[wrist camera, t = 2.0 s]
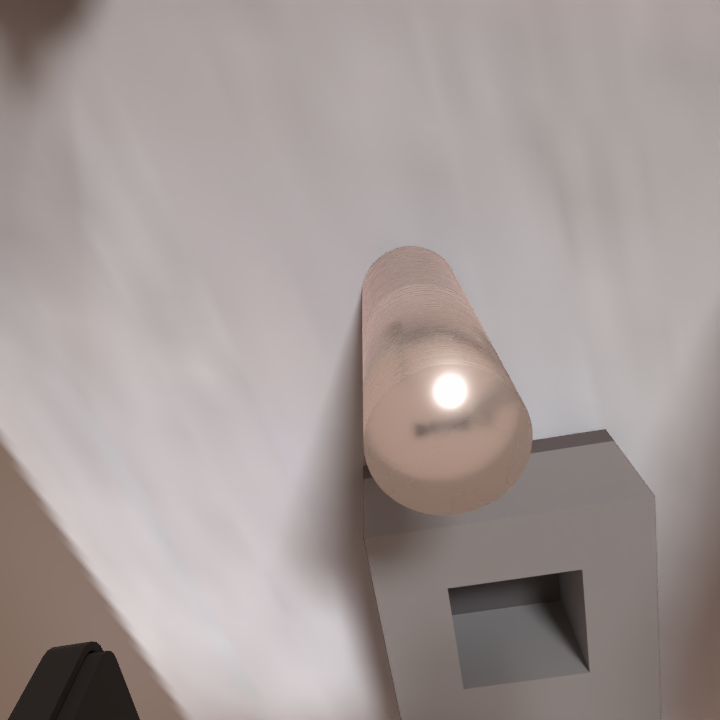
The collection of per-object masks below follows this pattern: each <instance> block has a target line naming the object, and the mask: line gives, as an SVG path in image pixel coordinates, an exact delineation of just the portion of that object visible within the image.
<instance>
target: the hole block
mask: <svg viewBox="0 0 720 720" xmlns="http://www.w3.org/2000/svg"><path fill="white" fill-rule="evenodd" d="M363 513H364V543H365V548H366V553H367V557H368V562H369V567H370V572H371V577H372V582H373V586H374V591H375V596H376V601H377V606H378V611H379V616H380V620H381V625H382V630H383V635H384V640H385V645H386V649H387V654H388V659H389V664H390V669H391V674H392V678H393V683H394V688H395V693H396V698H397V703H398V707H399V712H400V717H401V720H661V709H660V670H659V631H658V591H657V552H656V513H655V495H654V494H653V493H652V491H651V490H650V489H649V487H648V486H647V485H646V483H645V482H644V480H643V479H642V478H641V476H640V475H639V474H638V472H637V471H636V470H635V468H634V467H633V466H632V464H631V463H630V462H629V460H628V459H627V458H626V456H625V455H624V454H623V452H622V451H621V450H620V448H619V447H618V445H617V444H616V443H615V441H614V440H613V439H612V437H611V436H610V435H609V433H608V432H607V431H606V429H605V430H598V431H592V432H585V433H579V434H572V435H566V436H559V437H553V438H546V439H540V440H533V441H532V448H531V453H530V456H529V460H528V462H527V464H526V467H525V469H524V471H523V472H522V474H521V476H520V477H519V479H518V480H517V481H516V482H515V484H514V485H513V486H512V487H511V488H510V489H509V490H508V491H507V492H506V493H505V494H503V495H502V496H501V497H499V498H498V499H497V500H495V501H493V502H492V503H490V504H488V505H486V506H484V507H482V508H480V509H477V510H474V511H471V512H467V513H462V514H456V515H433V514H426V513H422V512H418V511H415V510H412V509H410V508H407V507H405V506H403V505H401V504H399V503H398V502H396V501H395V500H393V499H392V498H390V497H389V496H388V495H387V494H386V493H385V492H384V491H383V490H382V489H381V488H380V487H379V486H378V484H377V483H376V482H375V480H374V478H373V477H372V475H371V473H370V471H369V469H368V466H364V467H363Z"/></svg>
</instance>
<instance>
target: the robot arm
mask: <svg viewBox="0 0 720 720" xmlns="http://www.w3.org/2000/svg"><path fill="white" fill-rule="evenodd" d="M8 720H140V719H139V716H138V714H137V711H136V709H135V706H134V703H133V701H132V698H131V695H130V693H129V690H128V688H127V685H126V683H125V680H124V678H123V675H122V672H121V670H120V667H119V664H118V662H117V659H116V657H115V655H114V653H112V652H111V651H103V650H102V648H101V646H100V645H99V644H98V643H97V642H85V643H79V644H72V645H66V646H59V647H53V648H51V649H49V650H48V651H47V652H46V654H45V655H44V656H43V658H42V659H41V661H40V663H39V665H38V667H37V668H36V670H35V672H34V674H33V676H32V677H31V679H30V681H29V683H28V684H27V686H26V688H25V690H24V692H23V694H22V695H21V697H20V699H19V701H18V702H17V704H16V706H15V708H14V710H13V711H12V713H11V715H10V717H9V719H8Z"/></svg>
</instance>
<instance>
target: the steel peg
mask: <svg viewBox="0 0 720 720" xmlns="http://www.w3.org/2000/svg"><path fill="white" fill-rule="evenodd" d="M362 349H363V447H364V456H365V460H366V463H367V466H368V469H369V471H370V473H371V475H372V477H373V478H374V480H375V482H376V483H377V484H378V486H379V487H380V488H381V489H382V490H383V491H384V492H385V493H386V494H387V495H388V496H389V497H390V498H392V499H393V500H395V501H396V502H398V503H399V504H401V505H403V506H405V507H407V508H410V509H412V510H415V511H418V512H422V513H426V514H433V515H456V514H462V513H467V512H471V511H474V510H477V509H480V508H482V507H484V506H486V505H488V504H490V503H492V502H493V501H495V500H497V499H498V498H499V497H501V496H502V495H503V494H505V493H506V492H507V491H508V490H509V489H510V488H511V487H512V486H513V485H514V484H515V482H516V481H517V480H518V479H519V477H520V476H521V474H522V472H523V471H524V469H525V467H526V464H527V462H528V460H529V456H530V453H531V448H532V426H531V420H530V417H529V414H528V411H527V409H526V407H525V405H524V403H523V401H522V399H521V397H520V396H519V394H518V392H517V390H516V388H515V386H514V384H513V383H512V381H511V379H510V377H509V375H508V373H507V371H506V370H505V368H504V366H503V364H502V362H501V360H500V358H499V357H498V355H497V353H496V351H495V349H494V347H493V345H492V344H491V342H490V340H489V338H488V336H487V334H486V332H485V331H484V329H483V327H482V325H481V323H480V321H479V319H478V318H477V316H476V314H475V312H474V310H473V308H472V306H471V305H470V303H469V301H468V299H467V297H466V295H465V293H464V292H463V290H462V288H461V286H460V284H459V282H458V280H457V278H456V277H455V275H454V273H453V271H452V269H451V268H450V266H449V265H448V263H447V262H446V261H445V260H444V259H443V258H442V257H440V256H439V255H438V254H436V253H434V252H433V251H430V250H428V249H425V248H422V247H415V246H408V247H401V248H397V249H394V250H391V251H389V252H387V253H385V254H384V255H382V256H381V257H380V258H378V259H377V260H376V261H375V262H374V263H373V265H372V266H371V267H370V269H369V270H368V272H367V274H366V276H365V279H364V282H363V288H362Z"/></svg>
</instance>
